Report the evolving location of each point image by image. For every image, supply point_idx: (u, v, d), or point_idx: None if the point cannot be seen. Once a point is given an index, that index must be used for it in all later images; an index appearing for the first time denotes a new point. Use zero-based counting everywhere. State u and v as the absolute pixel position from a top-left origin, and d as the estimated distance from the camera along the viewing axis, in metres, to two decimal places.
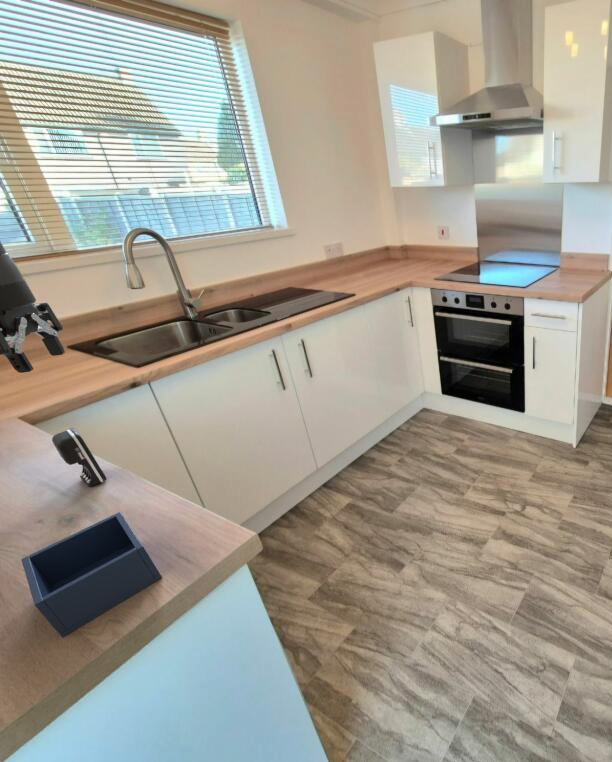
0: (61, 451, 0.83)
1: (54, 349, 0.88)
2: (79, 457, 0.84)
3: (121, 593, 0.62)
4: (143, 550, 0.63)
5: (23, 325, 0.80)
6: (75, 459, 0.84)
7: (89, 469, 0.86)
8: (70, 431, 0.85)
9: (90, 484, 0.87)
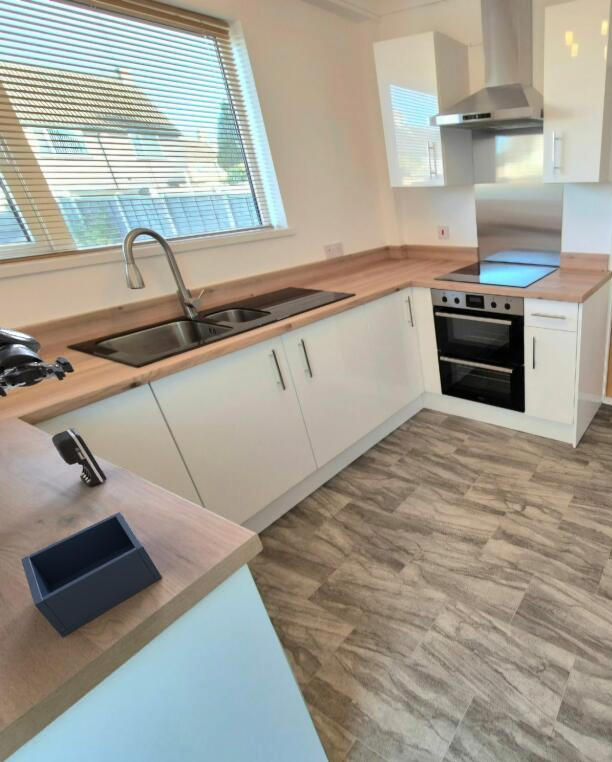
0: (61, 451, 0.83)
1: (55, 374, 0.92)
2: (79, 457, 0.84)
3: (121, 593, 0.62)
4: (143, 550, 0.63)
5: (8, 369, 0.91)
6: (75, 459, 0.84)
7: (89, 469, 0.86)
8: (70, 431, 0.85)
9: (90, 484, 0.87)
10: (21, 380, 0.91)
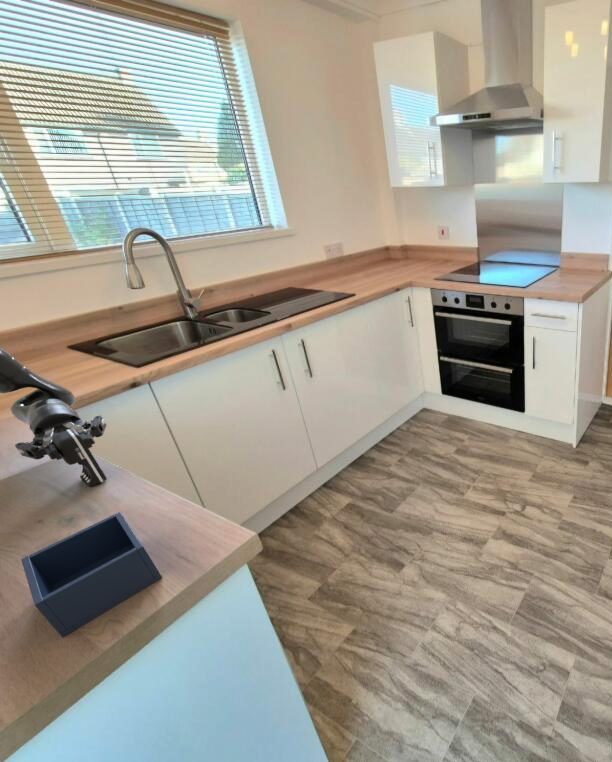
0: (61, 451, 0.83)
1: None
2: (79, 457, 0.84)
3: (121, 593, 0.62)
4: (143, 550, 0.63)
5: (48, 431, 0.87)
6: (75, 459, 0.84)
7: (89, 469, 0.86)
8: (70, 431, 0.85)
9: (90, 484, 0.87)
10: None
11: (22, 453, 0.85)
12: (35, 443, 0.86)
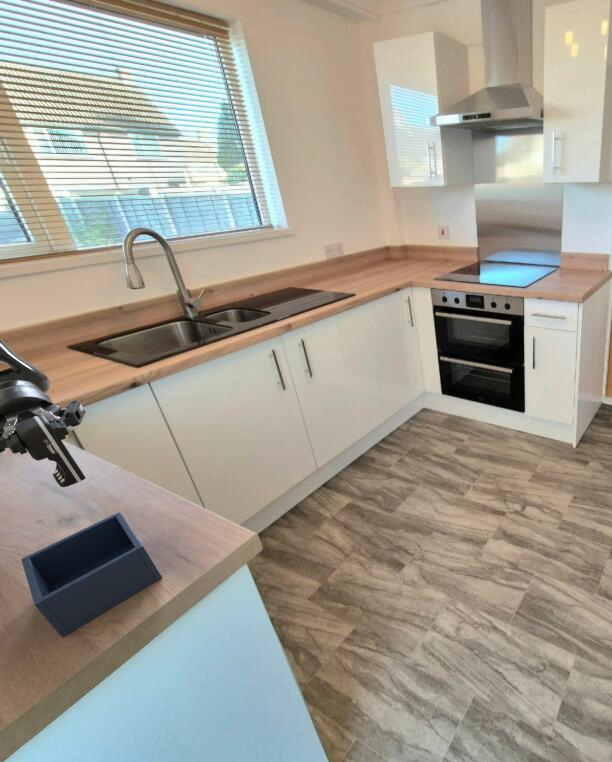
0: (25, 443, 0.65)
1: None
2: (49, 451, 0.67)
3: (121, 593, 0.62)
4: (143, 550, 0.63)
5: (11, 418, 0.70)
6: (44, 453, 0.67)
7: (62, 466, 0.69)
8: (38, 418, 0.68)
9: (64, 485, 0.70)
10: None
11: None
12: None
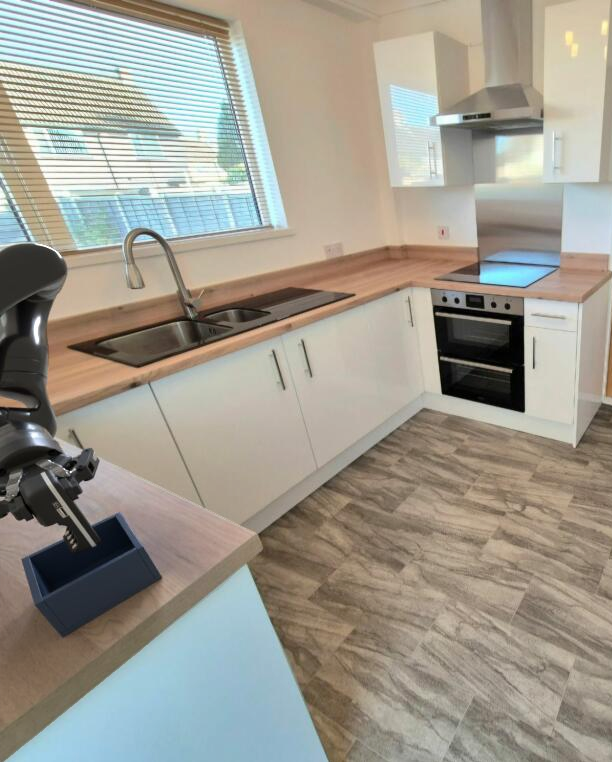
0: (31, 508, 0.55)
1: None
2: (59, 515, 0.57)
3: (121, 593, 0.62)
4: (143, 550, 0.63)
5: (15, 474, 0.60)
6: (53, 518, 0.57)
7: (75, 530, 0.59)
8: (46, 476, 0.58)
9: (77, 551, 0.60)
10: None
11: None
12: None
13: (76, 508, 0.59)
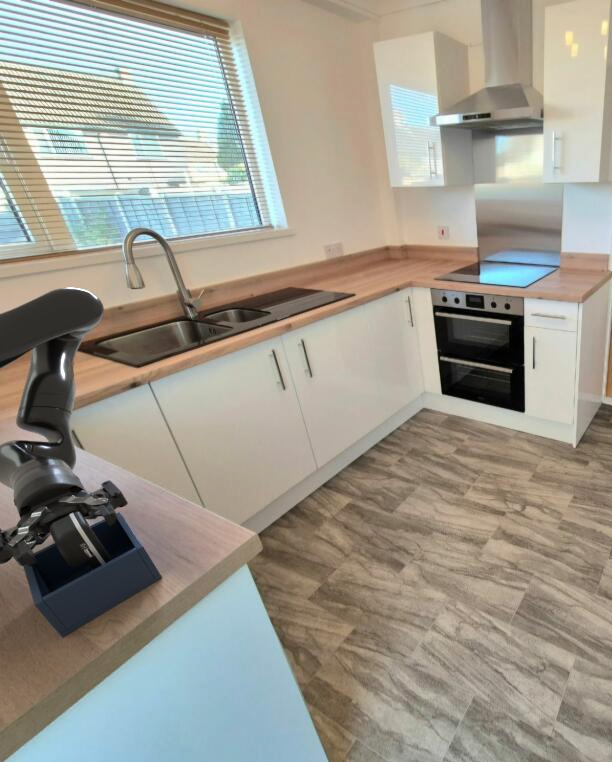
0: (61, 550, 0.59)
1: None
2: (86, 555, 0.60)
3: (121, 593, 0.62)
4: (143, 550, 0.63)
5: (36, 513, 0.62)
6: (80, 559, 0.60)
7: None
8: (74, 517, 0.61)
9: None
10: None
11: None
12: (17, 530, 0.62)
13: (101, 548, 0.62)
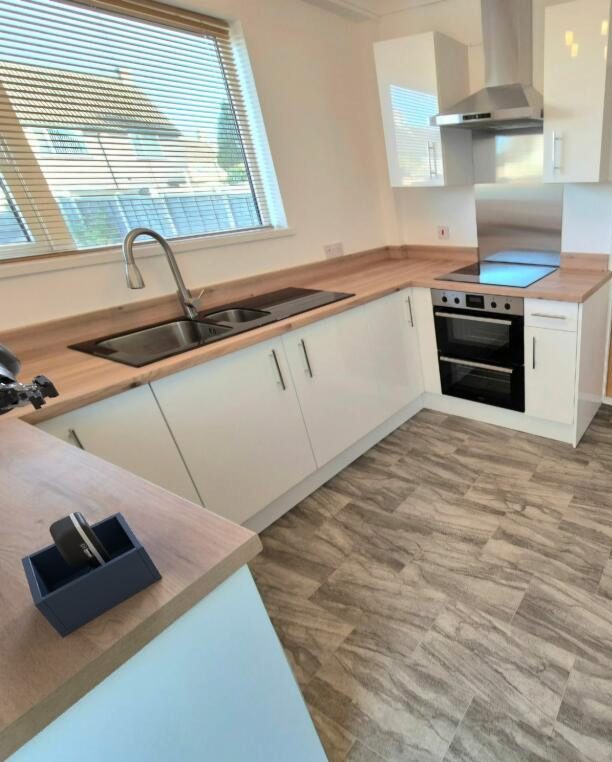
0: (61, 550, 0.59)
1: None
2: (86, 556, 0.60)
3: (121, 593, 0.62)
4: (143, 550, 0.63)
5: None
6: (80, 559, 0.60)
7: None
8: (74, 517, 0.61)
9: None
10: None
11: None
12: None
13: (101, 548, 0.62)
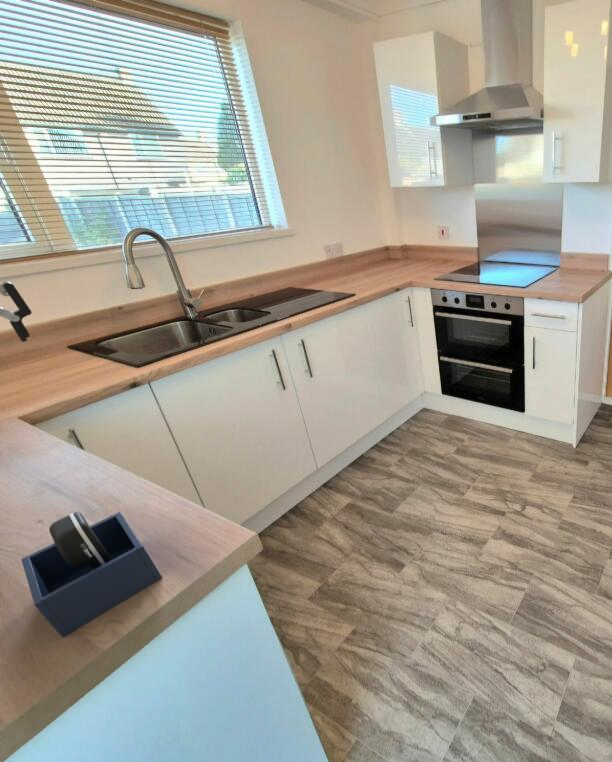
0: (61, 550, 0.59)
1: (17, 334, 0.78)
2: (86, 556, 0.60)
3: (121, 593, 0.62)
4: (143, 550, 0.63)
5: None
6: (80, 559, 0.60)
7: None
8: (74, 517, 0.61)
9: None
10: None
11: None
12: None
13: (101, 548, 0.62)
